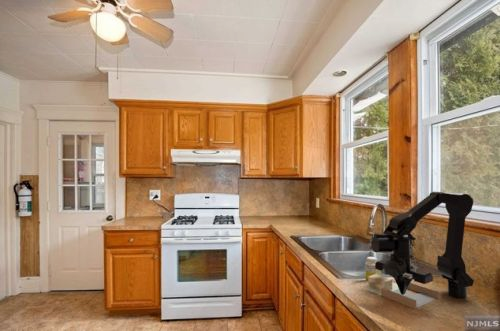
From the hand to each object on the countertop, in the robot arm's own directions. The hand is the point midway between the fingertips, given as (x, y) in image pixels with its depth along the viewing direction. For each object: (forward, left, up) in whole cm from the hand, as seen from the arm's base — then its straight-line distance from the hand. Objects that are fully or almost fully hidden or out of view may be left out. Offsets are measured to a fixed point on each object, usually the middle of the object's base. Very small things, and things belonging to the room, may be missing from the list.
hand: (402, 294), depth 99 cm
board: (-2, -3, -2) cm, 4 cm away
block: (0, -9, -1) cm, 9 cm away
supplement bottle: (-7, -17, -2) cm, 18 cm away
